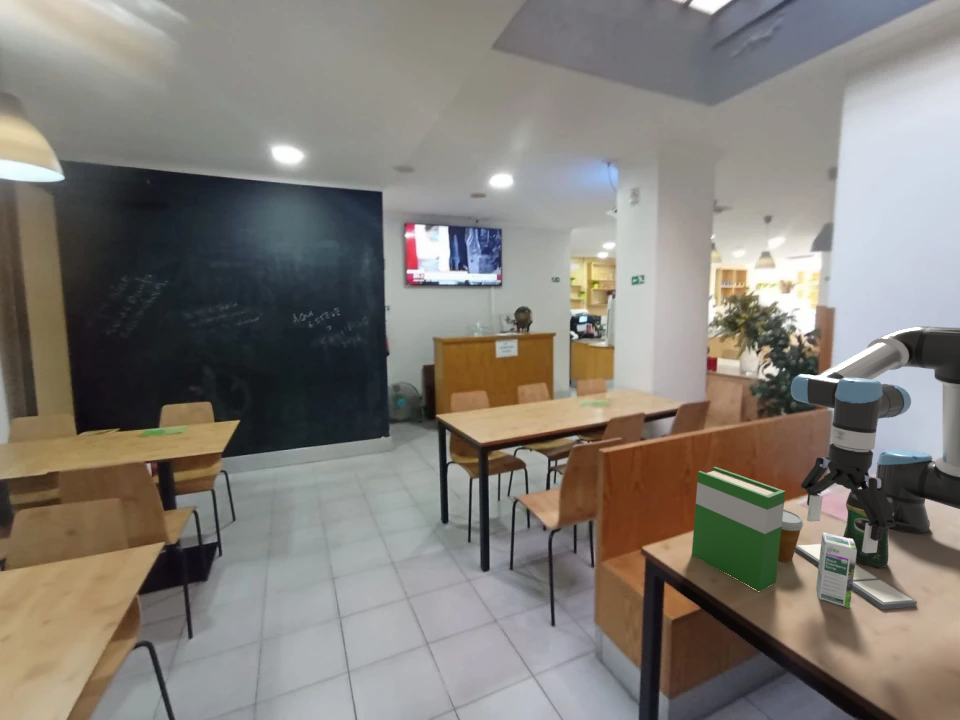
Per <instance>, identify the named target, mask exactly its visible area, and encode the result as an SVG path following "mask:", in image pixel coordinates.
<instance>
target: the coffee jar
mask: <svg viewBox="0 0 960 720" xmlns="http://www.w3.org/2000/svg"><path fill="white" fill-rule="evenodd" d="M887 499H888V502H889V505H890V508H891V512H892V515H893V516H894V507H893V500H892V499H891V498H889V497H887ZM845 501H846V502H845V508H846V510H847V517H846V518H847V519H846V524H845V528H844V533H843V536H842V537H845V538H850V539H853V541H854V543H855V546H856V549H857V554H856V563H857V562H858V563H860V564H863V565H867V566H869V567H874V568H878V569H879V568H885V567H887V566H888V563H889V527H884V528H883V534H882V539H881V540H880V541H878V545H877V552H876V553H864V552H862V547H863V540H864V533H865V526H866V523H870V521H869V519H868V518H867V516H866V514H865V512H864V510H863V508H862V506H861V504H860V503H859V501H858V499H857V497H856V495H855V494H853V493H852V491H851V490H850V492H849V493H848V496H847V499H846V500H845ZM876 520H877V519H876Z"/></svg>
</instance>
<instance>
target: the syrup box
mask: <svg viewBox="0 0 960 720" xmlns="http://www.w3.org/2000/svg"><path fill="white" fill-rule="evenodd" d="M820 540H821V541H820V544H821V549H820V559H819V567H818V569H817V580H816V591H817V597H818V599H819V600H821V601H826V602H829V603H831V604H835V605H838V606H842V607H845V608H848V609H850V607H851V599H852V593H853V589H852V585H853V577H854V569H855V564H856V563H857V561H856V554H857V549H856V546H855V543H854V541H853V539H850V538H845V537H843V536H840V535H837V534H831V533H827V532H825V531H824V532H822V533H821V539H820Z"/></svg>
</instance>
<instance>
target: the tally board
mask: <svg viewBox="0 0 960 720" xmlns="http://www.w3.org/2000/svg"><path fill="white" fill-rule="evenodd" d="M820 549H821V543H812V544H799V545H797V544H796V548H795V551H794V552H796V553H797V554H799V555H801V556H802V557H804V558H805V559H806V560H808V561H809V560H810V562H811V563H812V562H813V564H814V563H815V564H816V566H817V567H818V566H819V559H820ZM815 564H814V565H815ZM852 591H854V592H855V593H857V594H859V595H860V596H861V597H863V598H865V599H866V600H867V601H868V602H871V603H872V604H873V605H875V606H876V607H877V608H879V609H881V610H889V609H890V610H891V609H899V608H912V607H917V604H918V600H915V599H914V598H912V597H911V596H909V595H907V594H906V593H904V592H902V591H901V590H899V589H897V588H896V587H894V586H893V585H891V584H889V583H888V582H886V581H884V580H882V579H881V578H879V577H877V576H876V575H874V574H873V573H871V572H870V571H868V570H866V569H865V568H863V567H861V566H859V565H858V564H856V563H855V569H854V577H853V585H852Z"/></svg>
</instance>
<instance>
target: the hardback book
mask: <svg viewBox="0 0 960 720" xmlns="http://www.w3.org/2000/svg"><path fill="white" fill-rule="evenodd" d="M785 499H786V490H783V489H780V488H777V487H774V486H771V485H769V484H765V483H763V482H760V481H757V480H754V479H751V478H748V477H746V476H742V475H741V474H738V473H734V472H731V471H729V470H726V469H723V468H720V467H717V466H713V467H712V471H708V472H704V471H701V470H698V471H697V482H696V497H695V509H694V522H693V533H692V534H693V537H692V546H691V547H692V548H691V555H692V556H693V557H695V558H697V559H698V560H700V561H702V562H703V563H705V564H707V565H709V566H710V567H712V566H713V568H714V567H715V568H714V569H716V568H717V569H716V570H718V569H719V570H718V571H720V570H721V571H723V572H725V573H727V574H729V575H731V576H732V577H734V578H736V579H738V580H739V581H741V582H743V583H745V584H747V585H749V586H750V587H752V588H754V589H756V590H757V591H761V590H763V589H764V590H766V589H768V588H769V587H768V586H770V585H771V586H773V585H775V584H776V583H777V575H778V574H777V572H778V565H779V564H778V563H779V561H778V556H779V547H780V537H781V528H782V519H783V509H785V508H784V507H785ZM721 571H720V572H721ZM723 572H722V573H723ZM725 573H724V574H725ZM727 574H726V575H727ZM732 577H731V578H732ZM734 578H733V579H734ZM736 579H735V580H736ZM739 581H738V582H739ZM741 582H740V583H741ZM743 583H742V584H743ZM774 583H775V584H774ZM745 584H744V585H745ZM772 584H773V585H772ZM771 586H770V587H771ZM750 587H749V588H750ZM767 587H768V588H767ZM752 588H751V589H752ZM765 588H766V589H765ZM764 590H763V591H764ZM757 591H756V592H757ZM761 592H762V591H761Z"/></svg>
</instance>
